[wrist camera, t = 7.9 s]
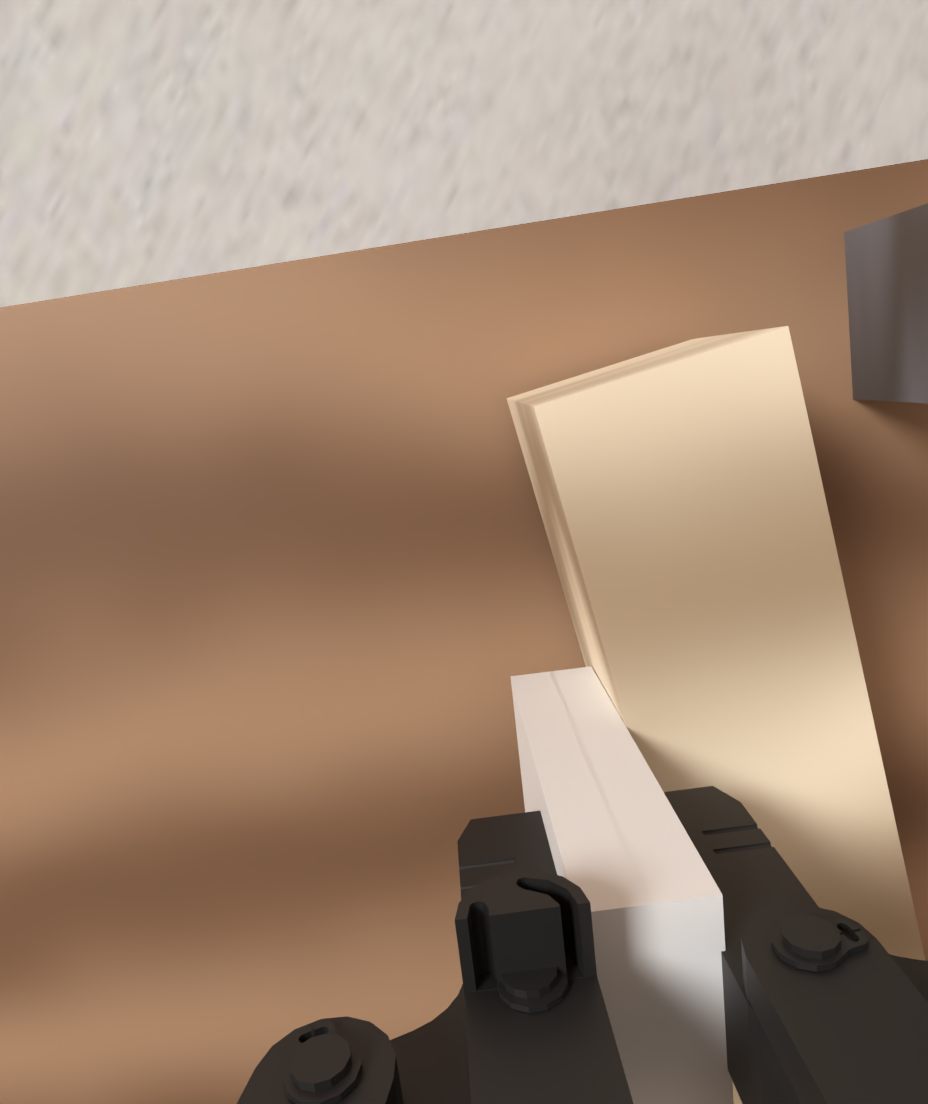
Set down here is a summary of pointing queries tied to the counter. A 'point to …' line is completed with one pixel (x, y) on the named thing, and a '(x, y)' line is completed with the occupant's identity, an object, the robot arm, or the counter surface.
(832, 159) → the counter surface
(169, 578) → the brown flat square block
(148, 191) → the counter surface
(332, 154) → the counter surface
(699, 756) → the folding leg
